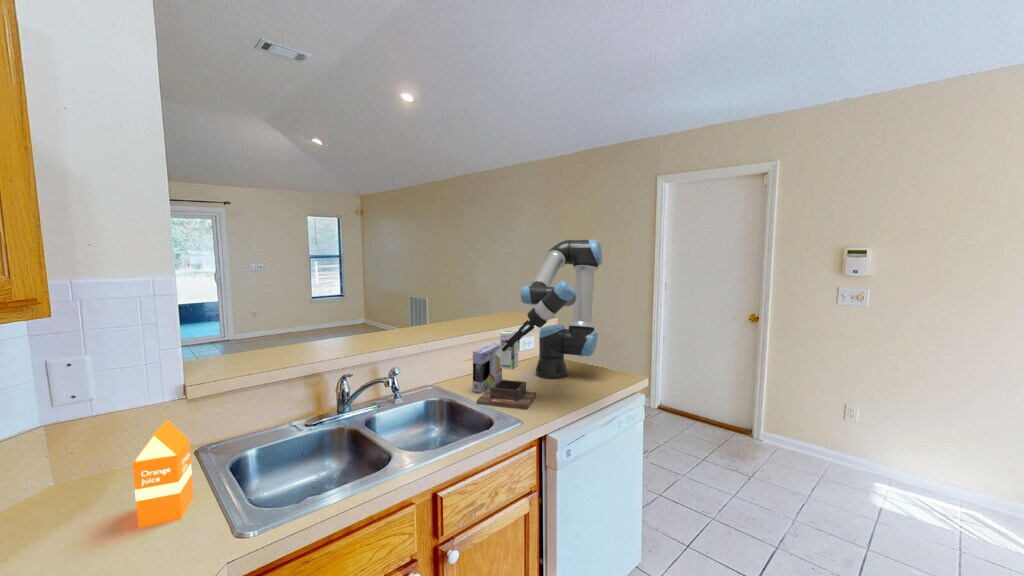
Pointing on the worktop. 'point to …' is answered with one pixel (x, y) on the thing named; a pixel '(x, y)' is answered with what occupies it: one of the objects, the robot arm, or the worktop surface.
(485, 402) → the socket board
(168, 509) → the orange juice
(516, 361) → the syrup box
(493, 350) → the cake pan box
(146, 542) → the worktop surface
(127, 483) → the worktop surface
